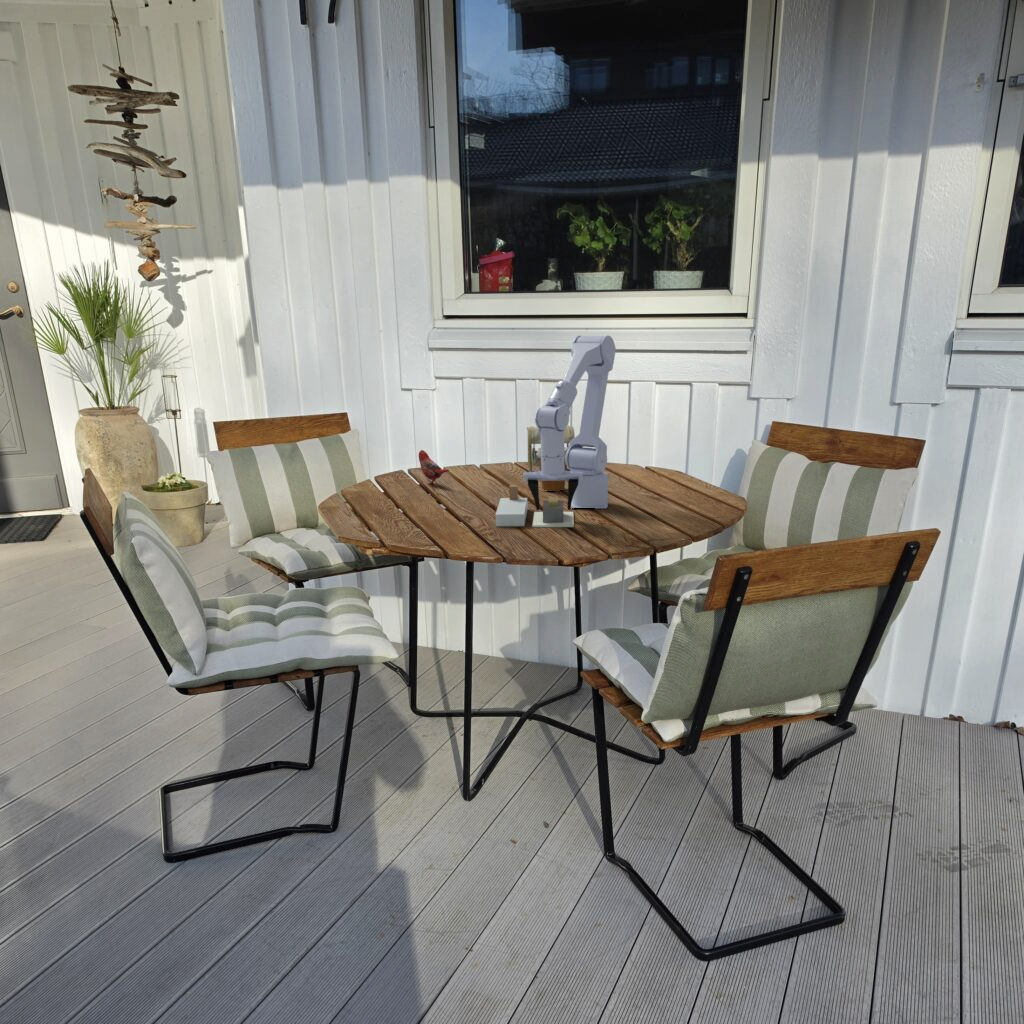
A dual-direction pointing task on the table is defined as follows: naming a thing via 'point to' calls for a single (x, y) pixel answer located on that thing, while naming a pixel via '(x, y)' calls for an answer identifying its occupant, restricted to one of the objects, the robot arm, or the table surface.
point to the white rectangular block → (512, 509)
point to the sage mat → (539, 523)
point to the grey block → (553, 511)
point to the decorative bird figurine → (430, 467)
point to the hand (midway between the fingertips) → (553, 509)
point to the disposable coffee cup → (552, 484)
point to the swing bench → (536, 439)
